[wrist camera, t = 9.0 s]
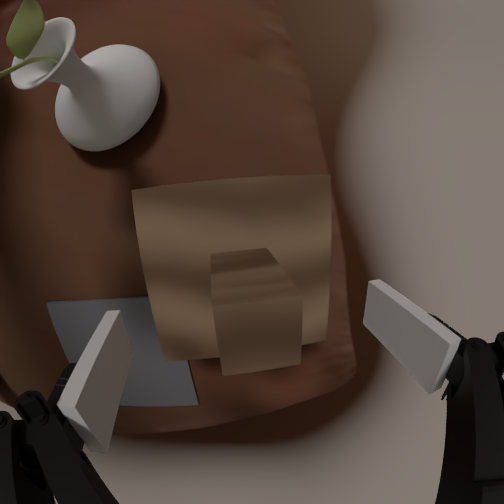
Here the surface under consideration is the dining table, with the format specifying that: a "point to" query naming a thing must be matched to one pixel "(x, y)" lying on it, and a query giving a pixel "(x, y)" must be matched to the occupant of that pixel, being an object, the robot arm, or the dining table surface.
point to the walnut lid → (237, 267)
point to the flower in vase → (83, 80)
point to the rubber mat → (142, 342)
